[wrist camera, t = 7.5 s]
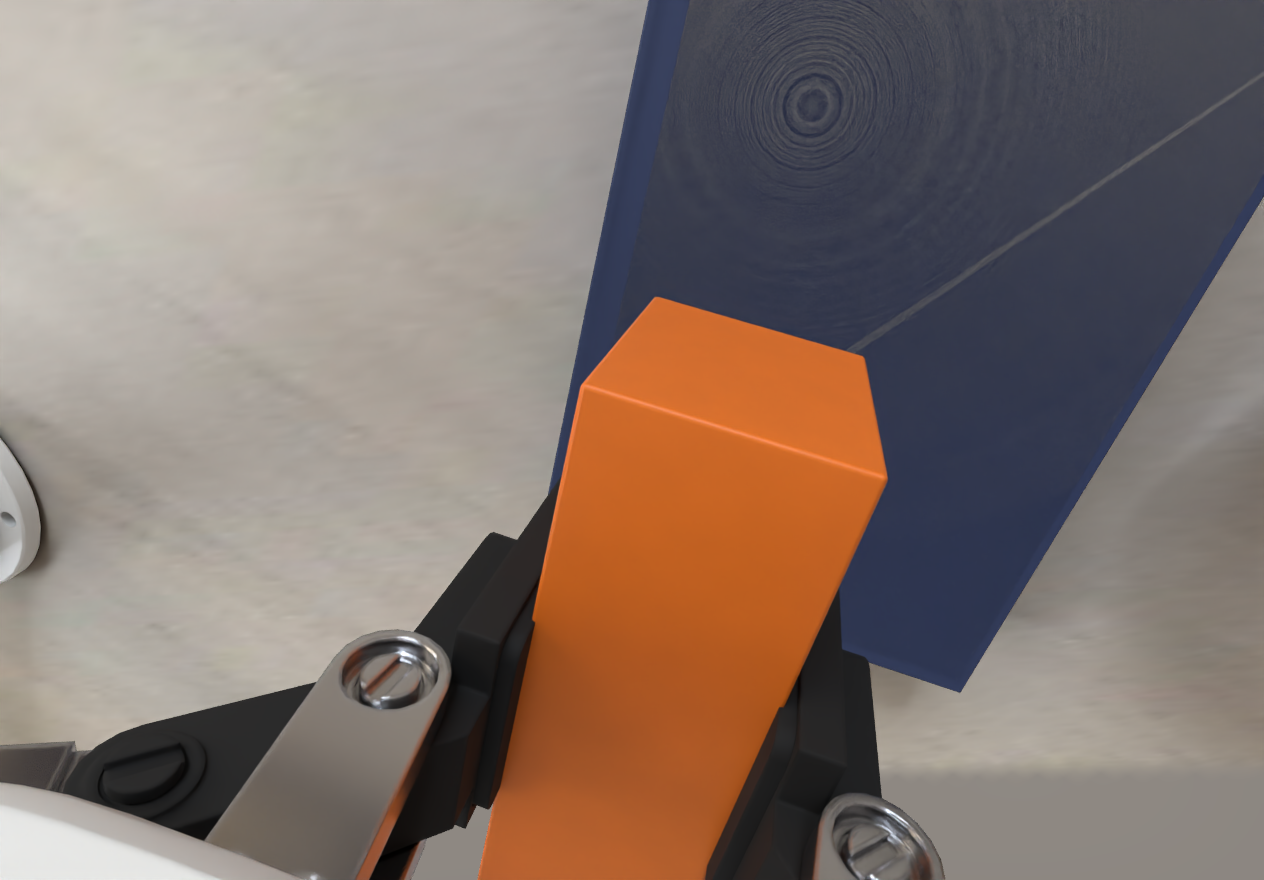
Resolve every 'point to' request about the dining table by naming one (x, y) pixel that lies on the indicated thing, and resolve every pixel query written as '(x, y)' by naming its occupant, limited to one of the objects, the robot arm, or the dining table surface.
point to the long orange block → (679, 590)
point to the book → (942, 247)
